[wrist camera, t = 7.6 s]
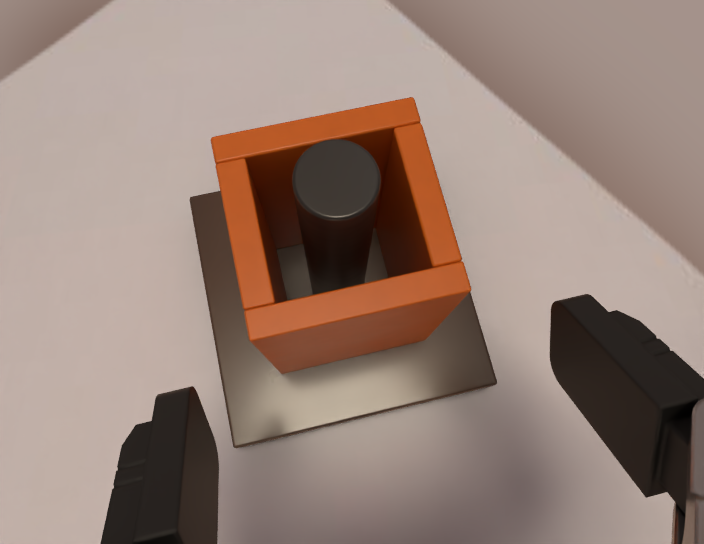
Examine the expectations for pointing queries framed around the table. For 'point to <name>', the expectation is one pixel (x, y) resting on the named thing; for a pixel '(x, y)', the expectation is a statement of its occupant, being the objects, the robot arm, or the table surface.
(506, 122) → the table surface
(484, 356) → the stake
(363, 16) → the table surface
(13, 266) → the table surface
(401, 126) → the orange square tube
